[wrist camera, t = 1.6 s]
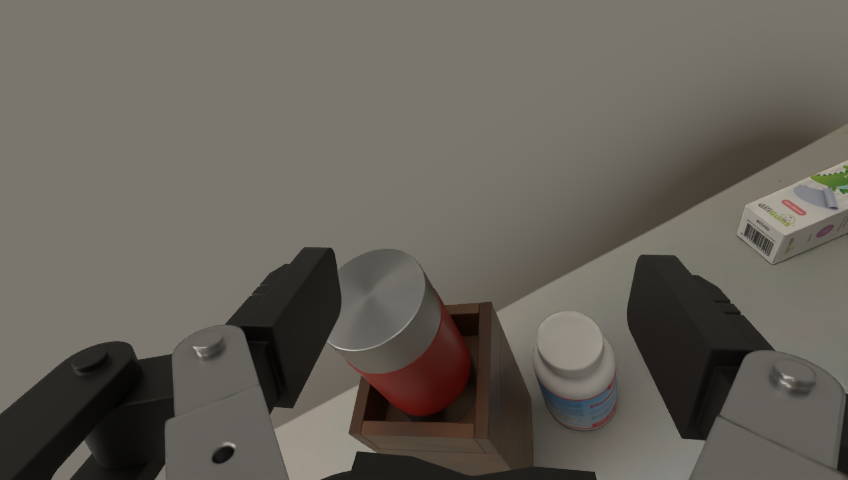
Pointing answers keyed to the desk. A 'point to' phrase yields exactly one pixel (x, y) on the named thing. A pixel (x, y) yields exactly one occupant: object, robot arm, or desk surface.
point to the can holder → (480, 428)
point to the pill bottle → (575, 370)
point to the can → (403, 337)
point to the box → (798, 215)
